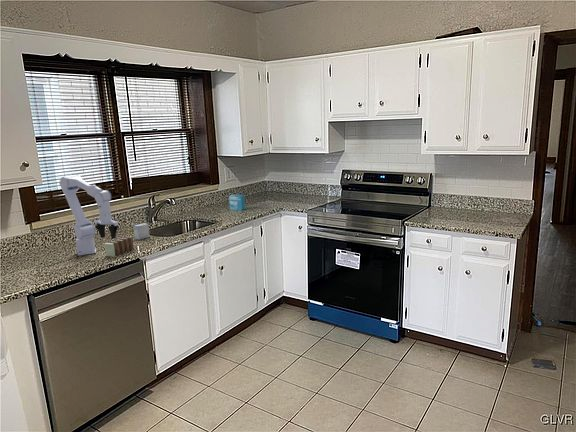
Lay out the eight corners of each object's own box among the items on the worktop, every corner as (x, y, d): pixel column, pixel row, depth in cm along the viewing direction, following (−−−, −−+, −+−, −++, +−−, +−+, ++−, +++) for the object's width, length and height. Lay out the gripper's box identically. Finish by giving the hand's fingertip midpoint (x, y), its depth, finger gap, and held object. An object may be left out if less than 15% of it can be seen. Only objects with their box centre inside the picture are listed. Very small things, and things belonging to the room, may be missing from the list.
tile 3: (122, 252, 243) (121, 240, 241) (115, 252, 245) (114, 240, 243) (124, 252, 244) (123, 240, 243) (118, 251, 246) (116, 239, 245)
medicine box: (145, 236, 279) (144, 223, 277) (149, 237, 276) (148, 223, 274) (134, 238, 273) (133, 225, 271) (138, 239, 270) (137, 226, 268)
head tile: (131, 249, 249) (130, 237, 248) (125, 248, 251) (123, 237, 250) (133, 248, 251) (132, 236, 249) (127, 247, 253) (125, 236, 251)
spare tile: (113, 256, 236) (111, 244, 235) (106, 255, 238) (104, 243, 237) (115, 255, 238) (113, 243, 236) (108, 255, 240) (106, 242, 238)
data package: (229, 209, 354) (228, 195, 351) (232, 208, 358) (231, 194, 355) (242, 210, 348) (241, 195, 346) (245, 209, 352) (244, 194, 350)
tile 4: (117, 254, 240) (116, 242, 238) (111, 254, 242) (109, 241, 240) (120, 253, 241) (118, 241, 240) (113, 253, 243) (111, 241, 242)
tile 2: (127, 251, 246) (126, 239, 245) (120, 250, 248) (119, 238, 247) (129, 250, 248) (128, 238, 246) (122, 249, 250) (121, 237, 248)
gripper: (89, 214, 232) (92, 238, 235) (109, 215, 227) (113, 240, 230) (99, 211, 239) (102, 235, 242) (119, 212, 233) (122, 237, 236)
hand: (108, 237), depth 236 cm, fingers open, 7 cm apart
